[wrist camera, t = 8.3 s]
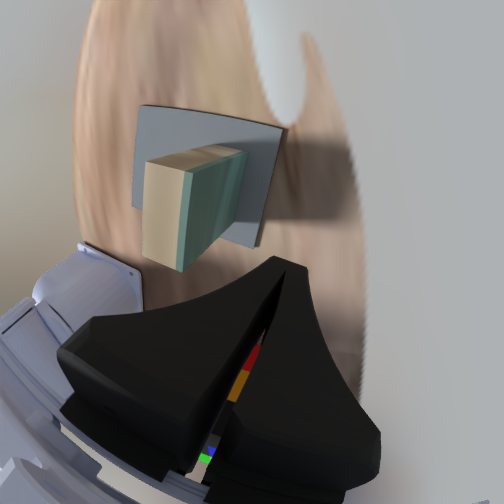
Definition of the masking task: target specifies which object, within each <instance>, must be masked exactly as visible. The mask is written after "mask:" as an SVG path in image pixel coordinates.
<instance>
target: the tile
mask: <svg viewBox="0 0 504 504" xmlns="http://www.w3.org/2000/svg"><path fill="white" fill-rule="evenodd" d="M248 154H249V152H245V151H241V150H237V149H233V148H229V147H225V146H221V145H216V144H211V145H206V146H202V147H198V148H194V149H189V150H185V151H182V152H178V153H174V154H170V155H167V156H163V157H159V158H156V159H153V160H149V161H146V163H145V176H144V192H143V219H142V256H144V257H147V258H149V259H151V260H154V261H156V262H158V263H160V264H163V265H165V266H167V267H170V268H172V269H174V270H177V271H179V272H182V273H183V272H184V271H185V270H186V269H187V268H188V267H189V266H190V265H191V264H192V263H193V262H194V261H195V260H196V259H197V258H198V257H199V256H200V255H201V254H202V253H203V252H204V251H205V250H206V249H207V248H208V247H209V246H210V245H211V244H212V243H213V242H214V241H215V240H216V239H217V238H218V237H219V236H220V235H221V234H223V233H224V232H225V231H226V230H227V229H228V228H229V227H230V226H231V225H232V224H233V223H234V221H235V216H236V212H237V207H238V202H239V197H240V192H241V187H242V182H243V178H244V173H245V168H246V163H247V159H248Z"/></svg>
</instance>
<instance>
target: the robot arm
mask: <svg viewBox="0 0 504 504" xmlns="http://www.w3.org/2000/svg"><path fill="white" fill-rule="evenodd" d="M265 328H266V329H265ZM264 330H265V333H264V336H263V339H262V343H261V346H260V349H259V352H258V356H257V358H256V360H255V362H254V364H253V367H252V369H251V371H250V373H249V375H248V377H247V380H246V382H245V384H244V386H243V388H242V390H241V392H240V394H239V396H238V398H237V400H236V402H235V404H234V406H233V408H232V411H231V413H230V416H229V419H228V421H227V424H226V426H225V429H224V431H223V434H222V436H221V439H220V441H219V444H218V446H217V448H216V450H215V452H214V454H213V456H212V458H211V460H210V462H209V465H208V467H207V468H206V472H205V475H204V477H203V480H202V482H201V484H200V483H198V482H195V481H193V480H191V479H188V478H186V477H184V476H185V475H186V474H187V473H191V472H192V471H193V469H194V467H195V465H196V462H197V461H198V459H199V456H200V454H201V452H202V450H203V448H204V446H205V444H206V442H207V440H208V438H209V436H210V434H211V432H212V430H213V428H214V425H215V423H216V421H217V419H218V417H219V415H220V413H221V411H222V409H223V407H224V404H225V402H226V400H227V398H228V396H229V394H230V392H231V390H232V387H233V385H234V383H235V381H236V379H237V377H238V375H239V373H240V372H241V370H242V368H243V366H244V365H245V363H246V361H247V360H248V358H249V356H250V354H251V353H252V351H253V349H254V347H255V346H256V344H257V342H258V340H259V339H260V337H261V335H262V333H263V331H264ZM60 423H61V424H62V425H63V426H65V427H66V428H67V429H68V430H69V431H70V432H72V433H73V434H74V435H75V436H77V437H78V438H79V439H80V440H82V441H83V442H84V443H85V444H87V445H88V446H89V447H91V448H92V449H93V450H95V451H96V452H98V453H99V454H100V455H102V456H103V457H104V458H106V459H107V460H109V461H110V462H112V463H113V464H115V465H116V466H118V467H119V468H121V469H123V470H124V471H126V472H128V473H129V474H131V475H132V476H134V477H136V478H138V479H139V480H141V481H143V482H145V483H146V484H149V485H150V486H152V487H154V488H156V489H158V490H160V491H162V492H164V493H166V494H168V495H170V496H172V497H174V498H176V499H179V500H181V501H183V502H186V503H188V504H342V503H343V501H344V497H345V492H346V491H347V490H350V489H352V488H355V487H358V486H360V485H363V484H365V483H367V482H369V481H371V480H372V479H374V478H375V477H376V476H377V474H378V473H379V468H380V459H381V432H380V431H379V429H378V428H377V427H376V425H375V424H374V423H373V421H372V420H371V419H370V418H369V416H368V415H367V414H366V412H365V411H364V410H363V409H362V407H361V406H360V405H359V403H358V402H357V400H356V399H355V397H354V396H353V394H352V392H351V391H350V389H349V388H348V386H347V385H346V383H345V381H344V379H343V378H342V376H341V374H340V372H339V370H338V368H337V367H336V365H335V363H334V361H333V359H332V356H331V354H330V352H329V350H328V348H327V345H326V343H325V340H324V338H323V335H322V332H321V329H320V326H319V323H318V320H317V317H316V313H315V310H314V305H313V301H312V297H311V292H310V286H309V278H308V269H307V267H304V266H302V265H299V264H296V263H293V262H290V261H288V260H285V259H282V258H279V257H276V256H272V257H270V258H269V259H267V260H266V261H265V262H263V263H262V264H261V265H259V266H258V267H256V268H255V269H253V270H252V271H250V272H249V273H247V274H245V275H244V276H242V277H241V278H239V279H237V280H235V281H233V282H231V283H229V284H228V285H226V286H224V287H222V288H220V289H218V290H215V291H213V292H211V293H208V294H206V295H203V296H201V297H198V298H196V299H193V300H190V301H186V302H183V303H179V304H176V305H172V306H169V307H164V308H160V309H155V310H149V311H143V299H142V281H141V273H140V272H139V271H138V270H136V269H134V268H132V267H130V266H128V265H126V264H124V263H122V262H119V261H117V260H115V259H113V258H111V257H109V256H107V255H105V254H103V253H102V252H100V251H98V250H96V249H94V248H92V247H90V246H88V245H86V244H84V243H82V242H80V243H79V244H78V251H77V252H75V253H74V254H72V255H71V256H69V257H68V258H66V259H64V260H63V261H62V262H60V263H59V264H57V265H56V266H54V267H53V268H51V269H50V270H48V271H47V272H46V273H44V274H43V275H42V276H41V277H40V279H39V280H38V281H37V283H36V285H35V287H34V290H33V295H32V298H30V297H25V298H24V299H22V300H21V301H20V302H18V303H17V304H16V305H14V306H13V307H12V308H11V309H10V310H8V311H7V312H6V313H5V314H4V315H2V316H1V317H0V504H140V503H138V502H137V501H135V500H133V499H131V498H129V497H128V496H126V495H124V494H123V493H121V492H119V491H118V490H116V489H114V488H113V487H111V486H110V485H108V484H107V483H105V482H104V481H102V480H101V479H99V478H98V477H97V474H98V473H99V471H100V470H101V468H102V466H101V464H99V463H98V462H97V461H95V460H94V459H93V458H91V457H90V456H89V455H88V454H86V453H85V452H84V451H83V450H82V449H81V448H80V447H79V446H77V445H76V444H75V443H74V442H73V441H71V440H70V439H69V438H68V437H67V436H66V435H64V434H63V433H62V432H61V425H60ZM474 504H489V500H485V501H482V502H479V503H474Z"/></svg>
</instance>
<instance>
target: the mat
mask: <svg viewBox="0 0 504 504" xmlns="http://www.w3.org/2000/svg"><path fill="white" fill-rule="evenodd" d="M282 133H283V129H280V128H276V127H272V126H268V125H264V124H259V123H255V122H250V121H246V120H241V119H236V118H231V117H226V116H220V115H215V114H209V113H202V112H196V111H189V110H181V109H173V108H164V107H154V106H143V105H141V106H139V113H138V121H137V130H136V139H135V151H134V164H133V182H132V207H135V208H138V209H141V210H143V192H144V176H145V163H146V161H149V160H153V159H156V158H159V157H163V156H167V155H170V154H174V153H178V152H182V151H185V150H189V149H194V148H198V147H202V146H206V145H211V144H216V145H221V146H225V147H229V148H233V149H237V150H241V151H245V152H249V154H248V159H247V163H246V168H245V173H244V178H243V182H242V187H241V192H240V197H239V202H238V207H237V212H236V216H235V221H234V223H233V224H232V225H231V226H230V227H229V228H228V229H227V230H226V231H225V232H224V233H223V234H221V235H220V236H219V237H220V238H223V239H226V240H229V241H232V242H234V243H237V244H240V245H243V246H246V247H249V248H251V249H253V248H254V247H255V243H256V239H257V235H258V231H259V226H260V222H261V218H262V214H263V210H264V206H265V202H266V198H267V194H268V190H269V186H270V182H271V178H272V174H273V170H274V166H275V161H276V157H277V153H278V149H279V145H280V141H281V137H282Z"/></svg>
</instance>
